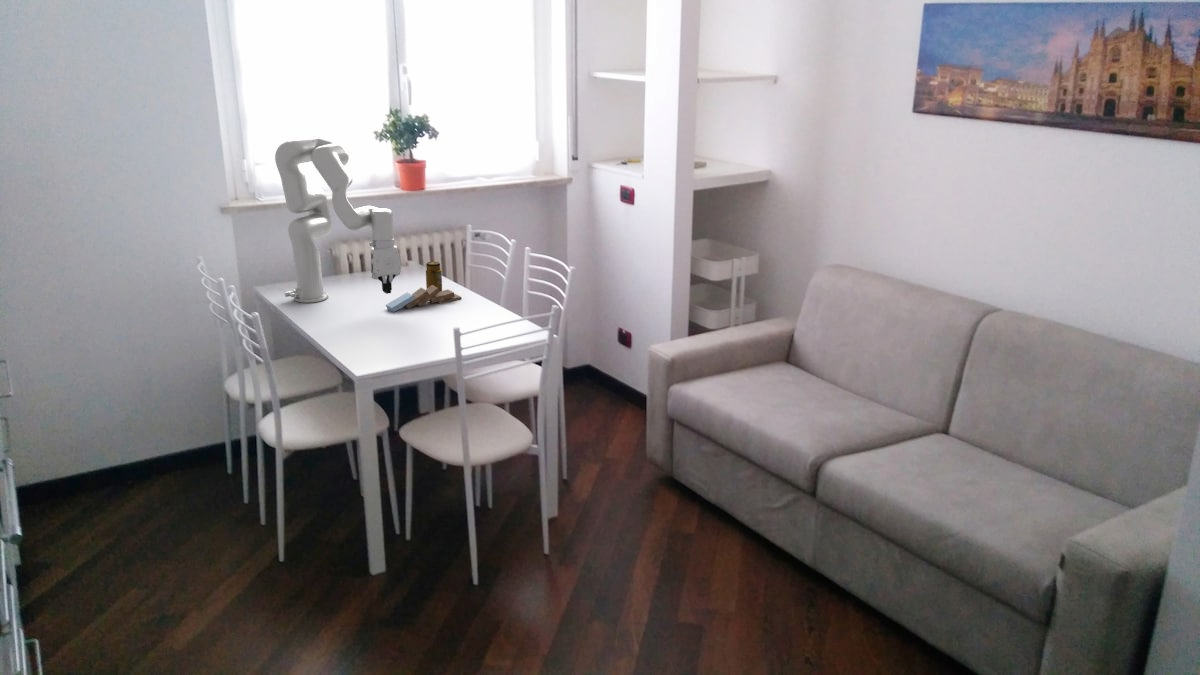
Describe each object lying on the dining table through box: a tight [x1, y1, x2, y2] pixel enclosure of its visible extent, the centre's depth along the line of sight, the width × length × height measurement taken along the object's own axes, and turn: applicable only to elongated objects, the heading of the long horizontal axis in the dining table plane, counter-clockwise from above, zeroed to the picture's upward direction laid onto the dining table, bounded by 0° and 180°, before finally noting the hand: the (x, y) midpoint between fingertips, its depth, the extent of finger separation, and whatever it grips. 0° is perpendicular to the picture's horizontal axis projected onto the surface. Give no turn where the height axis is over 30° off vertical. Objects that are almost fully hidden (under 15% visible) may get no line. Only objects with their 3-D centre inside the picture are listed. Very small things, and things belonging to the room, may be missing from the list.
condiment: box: [425, 261, 443, 291], centre depth 358 cm, size 7×8×12 cm
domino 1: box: [385, 292, 415, 313], centre depth 339 cm, size 2×5×10 cm
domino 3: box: [415, 285, 440, 308], centre depth 345 cm, size 2×5×10 cm
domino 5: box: [436, 293, 462, 304], centre depth 351 cm, size 2×5×10 cm
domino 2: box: [403, 287, 429, 310], centre depth 343 cm, size 2×5×10 cm
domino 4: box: [428, 289, 455, 304], centre depth 349 cm, size 2×5×10 cm
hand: (387, 292), depth 335 cm, fingers closed
